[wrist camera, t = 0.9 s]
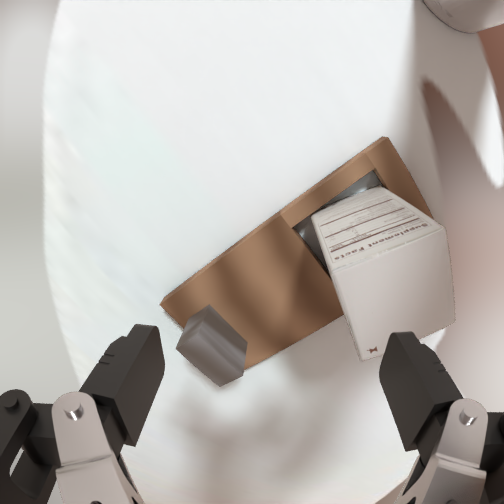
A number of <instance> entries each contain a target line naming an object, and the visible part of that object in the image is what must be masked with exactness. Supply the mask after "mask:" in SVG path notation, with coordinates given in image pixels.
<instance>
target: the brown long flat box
mask: <svg viewBox="0 0 504 504" xmlns="http://www.w3.org/2000/svg"><path fill="white" fill-rule="evenodd" d="M372 170H373V171H374V172H375V174H376V175H377V177H378V178H379V180H380V182H381V183H382V185H383V186H384V188H385V189H387V190H389V191H390V192H392V193H393V194H395V195H397V196H398V197H400V198H401V199H403V200H405V201H406V202H408V203H409V204H411V205H412V206H414V207H415V208H417V209H418V210H420V211H421V212H423V213H424V214H426V215H427V216H429V217H430V218H432V219H433V217H432V215H431V213H430V211H429V209H428V207H427V205H426V203H425V201H424V199H423V197H422V195H421V193H420V191H419V189H418V187H417V186H416V184H415V182H414V180H413V178H412V177H411V175H410V173H409V171H408V169H407V168H406V166H405V164H404V163H403V161H402V159H401V158H400V156H399V154H398V153H397V151H396V149H395V148H394V146H393V144H392V143H391V141H390V140H389V138H388V137H381V138H380V139H378V140H377V141H375V142H374V143H373V144H371V145H370V146H368V147H367V148H366V149H364V150H363V151H361V152H360V153H359V154H357V155H356V156H354V157H353V158H352V159H350V160H349V161H347V162H346V163H345V164H343V165H342V166H340V167H339V168H338V169H336V170H335V171H333V172H332V173H331V174H329V175H328V176H326V177H325V178H324V179H322V180H321V181H320V182H318V183H317V184H315V185H314V186H313V187H311V188H310V189H309V190H307V191H306V192H304V193H303V194H302V195H300V196H299V197H298V198H296V199H295V200H293V201H292V202H291V203H289V204H288V205H287V206H285V207H284V208H283V209H281V210H280V211H279V212H277V213H276V214H274V215H273V216H272V217H270V218H269V219H268V220H266V221H265V222H264V223H262V224H261V225H260V226H258V227H257V228H255V229H254V230H253V231H251V232H250V233H249V234H247V235H246V236H245V237H243V238H242V239H241V240H239V241H238V242H237V243H235V244H234V245H233V246H231V247H230V248H229V249H227V250H226V251H225V252H223V253H222V254H221V255H219V256H218V257H217V258H215V259H214V260H213V261H211V262H210V263H209V264H207V265H206V266H205V267H203V268H202V269H201V270H199V271H198V272H197V273H195V274H194V275H193V276H191V277H190V278H189V279H188V280H186V281H185V282H184V283H182V284H181V285H180V286H178V287H177V288H176V289H174V290H173V291H172V292H170V293H169V294H168V295H167V296H165V297H164V298H163V300H162V302H161V303H160V305H161V307H162V308H163V309H164V310H165V311H166V312H167V313H168V314H169V315H170V316H171V317H173V318H174V319H175V320H176V321H177V322H178V323H179V324H180V325H181V326H182V327H183V328H184V330H183V333H182V335H181V337H180V340H179V342H178V344H177V347H176V350H177V351H179V352H180V353H181V354H182V355H183V356H184V357H185V358H186V359H187V360H189V361H190V362H191V363H192V364H193V365H194V366H195V367H197V368H198V369H199V370H200V371H201V372H202V373H204V374H205V375H206V376H207V377H208V378H210V379H211V380H212V381H213V382H214V383H216V384H217V385H218V386H219V387H220V386H222V385H225V384H227V383H229V382H231V381H233V380H235V379H237V378H239V377H242V376H243V372H244V370H245V369H247V368H249V367H251V366H253V365H255V364H257V363H259V362H261V361H262V360H264V359H266V358H268V357H270V356H272V355H274V354H276V353H278V352H279V351H281V350H283V349H285V348H287V347H289V346H290V345H292V344H294V343H296V342H298V341H299V340H301V339H303V338H305V337H307V336H308V335H310V334H312V333H314V332H315V331H317V330H319V329H320V328H322V327H324V326H325V325H327V324H329V323H330V322H332V321H334V320H335V319H337V318H339V317H340V316H342V315H344V313H343V310H342V307H341V304H340V302H339V299H338V296H337V293H336V290H335V287H334V285H333V282H332V279H331V276H330V274H329V273H328V271H327V270H326V269H325V267H324V266H323V265H322V263H321V262H320V261H319V259H318V258H317V257H316V255H315V254H314V253H313V251H312V250H311V249H310V247H309V246H308V245H307V244H306V242H305V241H304V240H303V238H302V237H301V236H300V234H299V233H298V232H297V231H296V229H295V228H294V227H293V226H295V225H296V224H298V223H299V222H300V221H302V220H303V219H305V218H306V217H307V216H309V215H310V214H312V213H313V212H314V211H316V210H317V209H319V208H320V207H321V206H323V205H324V204H326V203H327V202H328V201H330V200H331V199H333V198H334V197H335V196H337V195H338V194H340V193H341V192H342V191H344V190H345V189H346V188H348V187H349V186H351V185H352V184H353V183H355V182H356V181H358V180H359V179H360V178H362V177H363V176H365V175H366V174H367V173H369V172H370V171H372ZM433 220H434V219H433Z"/></svg>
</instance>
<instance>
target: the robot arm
mask: <svg viewBox="0 0 504 504" xmlns="http://www.w3.org/2000/svg"><path fill="white" fill-rule="evenodd" d="M423 1H424V3H425V4H426V5H427V7H428V8H429V9H430V10H431V11H432V12H433V13H434V14H435V15H436V16H437V17H438V18H439V19H440V20H441V21H443V22H444V23H446V24H447V25H448V26H450V27H452V28H454V29H456V30H458V31H461V32H464V33H475V32H479V31H481V30H484V29H487V28H490V27H493V26H497V25H500V24H503V23H504V0H423ZM164 370H165V360H164V355H163V350H162V344H161V339H160V333H159V329H158V327H157V326H151V325H141V324H135V325H134V327H133V328H132V330H131V331H130V333H129V334H128V336H127V337H124V336H121V337H120V338H118V339H117V340H115V341H114V342H113V343H111V344H110V346H109V347H108V348H107V350H106V351H105V353H104V356H102V357H101V359H100V360H99V363H97V364H96V366H95V367H94V369H93V370H92V372H91V373H90V375H89V376H88V378H87V379H86V381H85V382H84V384H83V386H82V387H81V389H80V390H79V392H70V393H66V394H64V395H62V396H61V397H59V398H58V399H57V400H56V401H55V403H54V404H40V403H33V402H32V401H31V399H30V397H29V396H28V394H27V393H26V392H24V391H22V390H18V389H15V390H10V391H7V392H5V393H3V394H2V395H1V396H0V504H47V502H48V500H49V497H50V495H51V492H52V490H53V487H54V485H55V482H56V480H57V481H58V485H59V489H60V493H61V497H62V500H63V503H64V504H145V503H144V501H143V499H142V498H141V496H140V494H139V492H138V490H137V488H136V486H135V484H134V481H133V479H132V477H131V475H130V473H129V471H128V468H127V466H126V464H125V462H124V459H123V457H122V455H121V453H120V452H121V449H122V447H123V444H126V445H130V446H134V447H135V446H136V444H137V441H138V439H139V436H140V433H141V431H142V428H143V426H144V423H145V421H146V418H147V416H148V413H149V411H150V408H151V406H152V403H153V401H154V398H155V396H156V393H157V391H158V388H159V386H160V383H161V381H162V378H163V376H164ZM379 378H380V383H381V385H382V388H383V390H384V393H385V396H386V398H387V401H388V404H389V406H390V409H391V412H392V414H393V417H394V420H395V423H396V425H397V428H398V431H399V434H400V437H401V440H402V443H403V446H404V449H405V451H406V452H407V451H411V450H416V449H418V451H419V456H418V457H417V459H416V460H415V463H414V465H413V467H412V469H411V472H410V474H409V476H408V478H407V480H406V482H405V484H404V487H403V488H402V490H401V492H400V494H399V496H398V498H397V499H396V501H395V503H394V504H504V412H503V413H502V412H499V413H497V412H486V410H485V408H484V407H483V406H482V405H481V404H480V403H478V402H477V401H474V400H472V399H464V398H463V397H462V395H461V393H460V392H459V390H458V388H457V387H456V385H455V383H454V382H453V380H452V379H451V377H450V375H449V374H448V372H447V371H446V369H445V367H444V366H443V364H441V361H440V360H439V358H438V357H437V355H436V353H435V352H434V351H433V350H431V349H430V348H429V347H427V346H426V345H425V344H421V343H420V342H419V340H418V339H417V337H416V335H415V334H414V333H413V332H412V331H408V332H393V333H391V335H390V336H389V339H388V343H387V346H386V349H385V353H384V356H383V359H382V362H381V365H380V370H379ZM20 448H22V449H23V450H24V451H23V453H22V455H21V457H20V459H19V461H18V463H17V465H16V467H15V469H14V471H13V473H12V475H11V477H10V474H9V472H10V467H11V465H12V463H13V461H14V459H15V457H16V455H17V454H18V452H19V450H20Z"/></svg>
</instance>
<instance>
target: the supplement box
mask: <svg viewBox="0 0 504 504" xmlns="http://www.w3.org/2000/svg"><path fill="white" fill-rule="evenodd" d="M310 217H311V220H312V223H313V226H314V229H315V232H316V235H317V238H318V241H319V243H320V246H321V249H322V252H323V255H324V258H325V261H326V264H327V267H328V270H329V273H330V276H331V279H332V282H333V285H334V287H335V290H336V293H337V296H338V299H339V302H340V304H341V307H342V310H343V313H344V315H345V318H346V321H347V324H348V326H349V329H350V332H351V335H352V338H353V341H354V344H355V347H356V350H357V353H358V356H359V359H360V361H364V360H368V359H371V358H374V357H377V356H379V355H382V354H384V353H385V349H386V346H387V343H388V339H389V336H390V335H391V333H393V332H408V331H412V332H413V333H414V334H415V335H416V337H417V339H418V340H419V339H421V338H423V337H426V336H428V335H430V334H432V333H434V332H436V331H439V330H441V329H443V328H445V327H447V326H449V325H451V324H452V323H454V322H455V301H454V288H453V277H452V268H451V260H450V252H449V245H448V239H447V233H446V228H445V227H443V226H442V225H440V224H439V223H437V222H436V221H435V220H433V219H432V218H430V217H429V216H427V215H426V214H424V213H423V212H421V211H420V210H418V209H417V208H415V207H414V206H412V205H411V204H409V203H408V202H406V201H405V200H403V199H401V198H400V197H398V196H397V195H395V194H393V193H392V192H390V191H389V190H387V189H385V188H384V187H382V186H380V185H378V186H376V187H374V188H371V189H369V190H366V191H363V192H361V193H358V194H356V195H353V196H350V197H348V198H345V199H342V200H340V201H337V202H335V203H332V204H329V205H327V206H324V207H322V208H319V209H317V210H316V211H314V212H313V213H312V214H310Z"/></svg>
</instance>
